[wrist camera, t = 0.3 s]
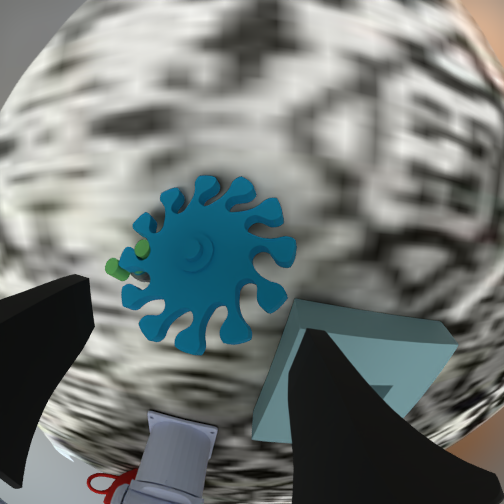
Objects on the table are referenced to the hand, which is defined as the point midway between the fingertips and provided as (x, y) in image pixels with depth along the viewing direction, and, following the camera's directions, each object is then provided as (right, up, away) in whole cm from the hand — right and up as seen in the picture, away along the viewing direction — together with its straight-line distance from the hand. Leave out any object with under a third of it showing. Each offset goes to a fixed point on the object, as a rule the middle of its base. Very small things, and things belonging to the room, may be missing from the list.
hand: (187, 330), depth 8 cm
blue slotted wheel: (-1, +4, +10) cm, 10 cm away
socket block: (+10, -9, +14) cm, 19 cm away
